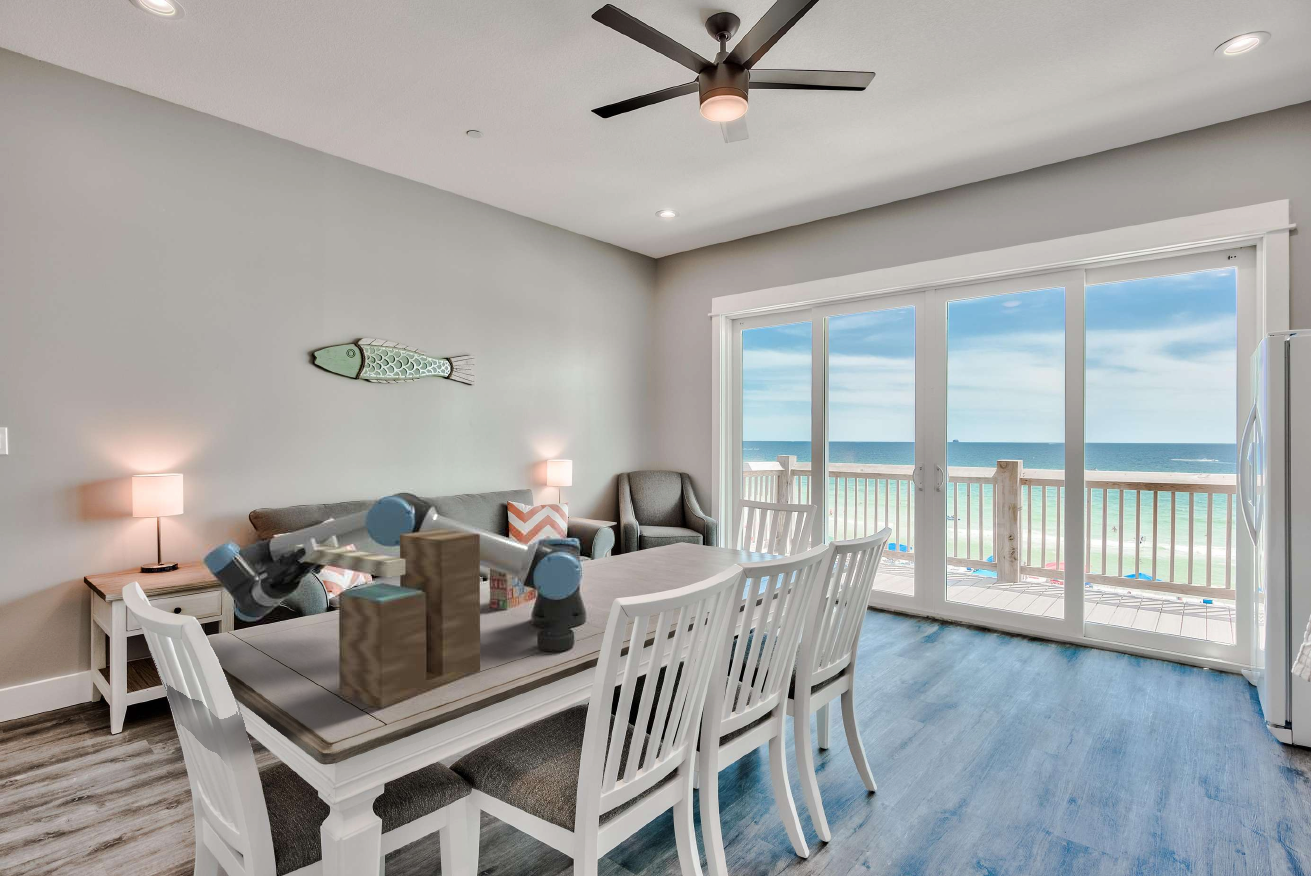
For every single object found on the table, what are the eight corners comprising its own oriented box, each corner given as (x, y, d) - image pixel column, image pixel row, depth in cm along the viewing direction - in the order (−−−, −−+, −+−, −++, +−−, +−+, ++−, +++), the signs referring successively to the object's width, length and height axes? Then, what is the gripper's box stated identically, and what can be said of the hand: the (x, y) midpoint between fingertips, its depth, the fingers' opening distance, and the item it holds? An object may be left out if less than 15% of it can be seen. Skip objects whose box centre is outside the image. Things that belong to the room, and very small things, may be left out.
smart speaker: (532, 645, 161) (532, 629, 161) (566, 639, 166) (566, 623, 166) (545, 655, 154) (545, 638, 154) (580, 649, 158) (580, 633, 158)
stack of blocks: (529, 592, 215) (529, 555, 215) (546, 594, 213) (546, 556, 213) (489, 608, 196) (489, 567, 196) (506, 610, 193) (506, 568, 193)
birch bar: (294, 558, 146) (294, 545, 146) (312, 556, 149) (312, 543, 149) (387, 577, 127) (387, 562, 127) (405, 574, 130) (405, 559, 130)
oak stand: (339, 693, 131) (338, 543, 131) (438, 658, 151) (437, 529, 151) (381, 709, 124) (380, 550, 124) (480, 670, 144) (479, 534, 144)
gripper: (317, 591, 160) (366, 552, 149) (241, 607, 146) (289, 565, 135) (308, 563, 162) (356, 522, 151) (233, 576, 148) (280, 531, 137)
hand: (324, 542), depth 143 cm, fingers closed on birch bar, 4 cm apart
